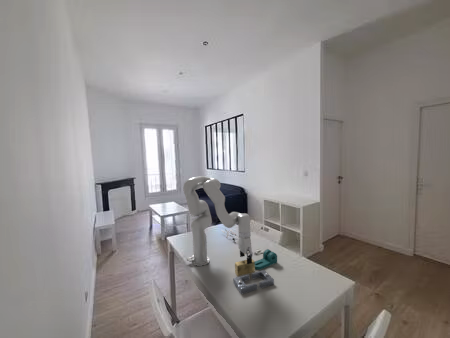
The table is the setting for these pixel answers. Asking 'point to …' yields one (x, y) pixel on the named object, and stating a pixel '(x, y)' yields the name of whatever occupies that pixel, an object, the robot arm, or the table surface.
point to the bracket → (266, 260)
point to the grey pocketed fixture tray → (244, 289)
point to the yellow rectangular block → (244, 267)
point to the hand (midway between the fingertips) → (245, 259)
